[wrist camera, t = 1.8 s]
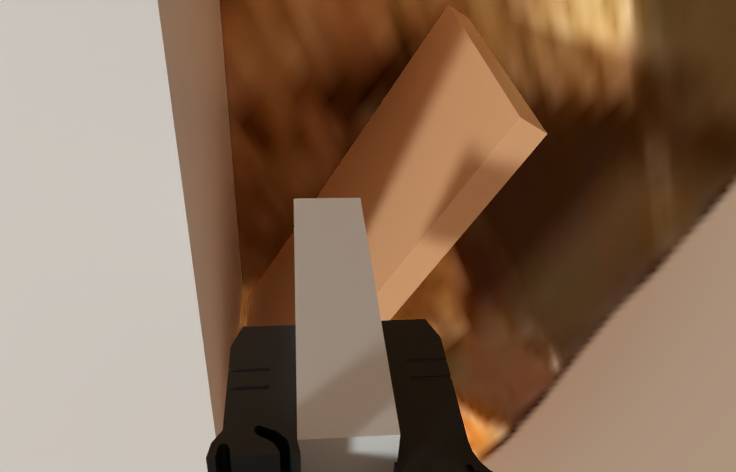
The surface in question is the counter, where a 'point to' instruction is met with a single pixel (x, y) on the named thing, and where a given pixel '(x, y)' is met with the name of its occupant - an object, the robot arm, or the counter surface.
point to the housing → (114, 235)
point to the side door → (421, 166)
